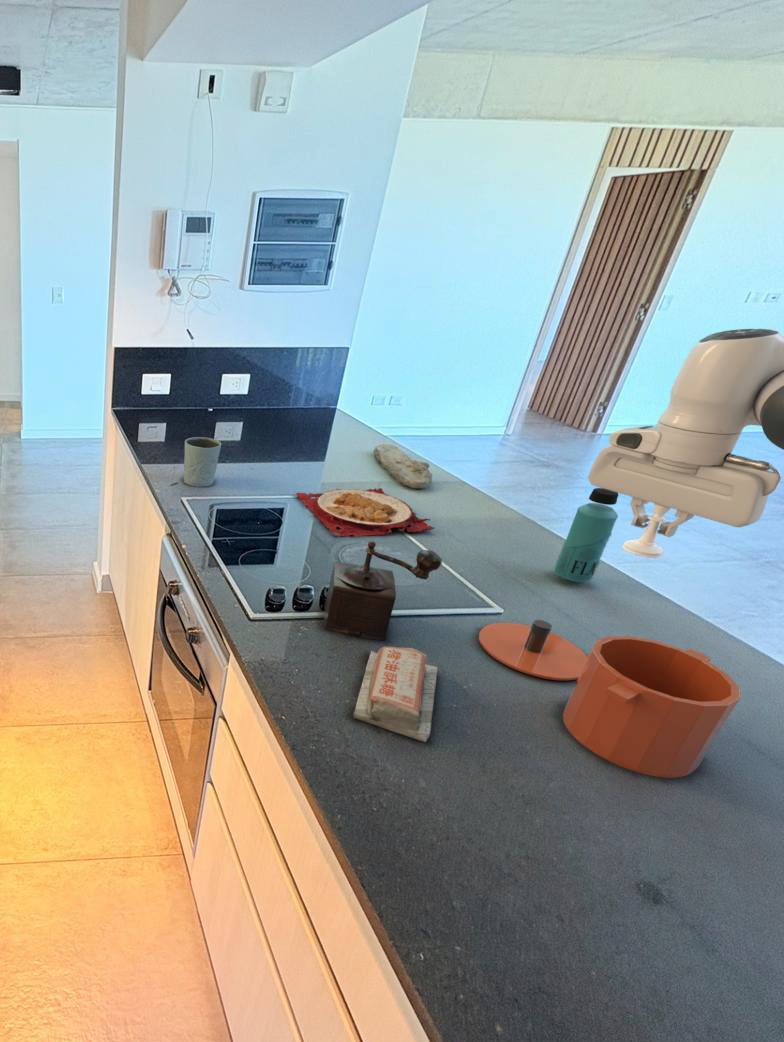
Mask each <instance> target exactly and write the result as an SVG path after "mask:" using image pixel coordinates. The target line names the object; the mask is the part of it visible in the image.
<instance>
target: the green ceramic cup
mask: <svg viewBox="0 0 784 1042" xmlns="http://www.w3.org/2000/svg"><path fill="white" fill-rule="evenodd" d="M221 448H222V442H221V441H219V440H217V439H215V438H211V437H205V436H193V437H189V438H186V439H185V440H184V457H183V458H184V460H183V471H184V472H183V483H184V484H186V485H188V486H191V487H195V488H196V487H198V488H205V487H210V486H212V485H213V484H214V482H215V477H216V472H217V466H218V463H219V462H218V461H219V457H220V452H221Z"/></svg>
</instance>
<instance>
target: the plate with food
mask: <svg viewBox="0 0 784 1042" xmlns="http://www.w3.org/2000/svg"><path fill="white" fill-rule="evenodd" d="M295 494H296V498H298V499H299V501H300V502H301V504H302V505H304V506H305V507H307V508H308V510H309V511H310V512H312V513H313V515H314V516H316V518H317V519H318V520H319V521H320V522H322V524H323V526H324V527H326V529H328V531H330V533H331V534H332V535H333V536H334V537H349V536H353V537H363V536H365V537H366V536H382V535H384V536H385V535H388V534H390V533H392V530H391V529H394V528H397V530H398V531H399V532H401V531H402V532H403V531H405V529H406V532H407V533H416V532H421V531H427V530H428V531H432V530H434V529H435V528H436V527H435V526H431V525H428V523H426V522H427V521H431V519H430V518H419V517H418V516H417V513H415V512H414V511H413V509H412V508H411V506H410V505H409V504H407V503H406V502H405V501H403V500H402V499H399V498H397V497H395V496H390V495H388V494H386V493H385V491H383V488H381V487H379V488H378V489H377V488H373V489H372V488H369V489H356V488H353V489H351V488H350V489H340V488H336V489H334V490H329V491H327V492H323V493H319V492H317V493H311V492H309V494H308V493H306V492H300V491H299V492H296V493H295ZM425 521H426V522H425ZM337 527H338V528H340V529H337ZM335 534H336V535H335Z"/></svg>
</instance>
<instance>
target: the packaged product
mask: <svg viewBox="0 0 784 1042" xmlns="http://www.w3.org/2000/svg"><path fill="white" fill-rule="evenodd" d="M368 657H369V658H368V661H367V664H366V667H365V671H364V676H363V679H362V683H361V686H360V689H359V692H358V696H357V701H356V705H355V709H354V711H353V717H354V719H357V720H359V721H363V722H364V723H368V724H370V725H374V726H376V727H379V728H382V729H384V730H388V731H391V732H394V733H396V734H400V735H403V736H406V737H408V738H411V739H415V740H417V741H421V742H423V743H427V740H428V739H429V737H430V735H431V729H432V719H433V710H434V702H435V691H436V685H437V684H436V683H437V676H438V667H437V666H434V665H431V664H426V663H427V658H428V656H427V654H426V653H424V652H421V651H420V650H418V649H416V648H414V647H399V646H398V647H397V646H382V647H380V648H379V649H378V651H377V652H375V651H373V650H371V651H370V654H369V656H368Z"/></svg>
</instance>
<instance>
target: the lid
mask: <svg viewBox="0 0 784 1042" xmlns="http://www.w3.org/2000/svg"><path fill="white" fill-rule="evenodd" d="M552 629H553V624H551V623H550V622H548V621H545V620H542V619H535V620H533V622H532V624H531V625H528V624H523V623H515V622H495V623H490V624H487V625H485V626H484V627H482V629H481V630H480V631H479V633H478V641H479V644H480V646H481V647H482V648H483V649H484V651H485V652H486V653H488V654H489V655H490V656H492V658H494V659H495V660H496V661H498V662H500V663H502V664H503V665H505V666H507V667H509V668H511V669H514V670H516V671H518V672H521V673H524V674H527V675H529V676H532V677H537V678H541V679H546V680H553V681H576V680H578V678H579V676H580V674H581V672H582V669H583V667H584V665H585V663H586V661H587V659H588V656H587V655H586V653H585V652H584V651H583V650H581V649H580V648H579V647H578V646H576V644H574V643H573V642H571V641H569V640H568V639H566V638H563V637H562V636H559V635H558V634H555V633H553V632H551V631H552Z"/></svg>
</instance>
